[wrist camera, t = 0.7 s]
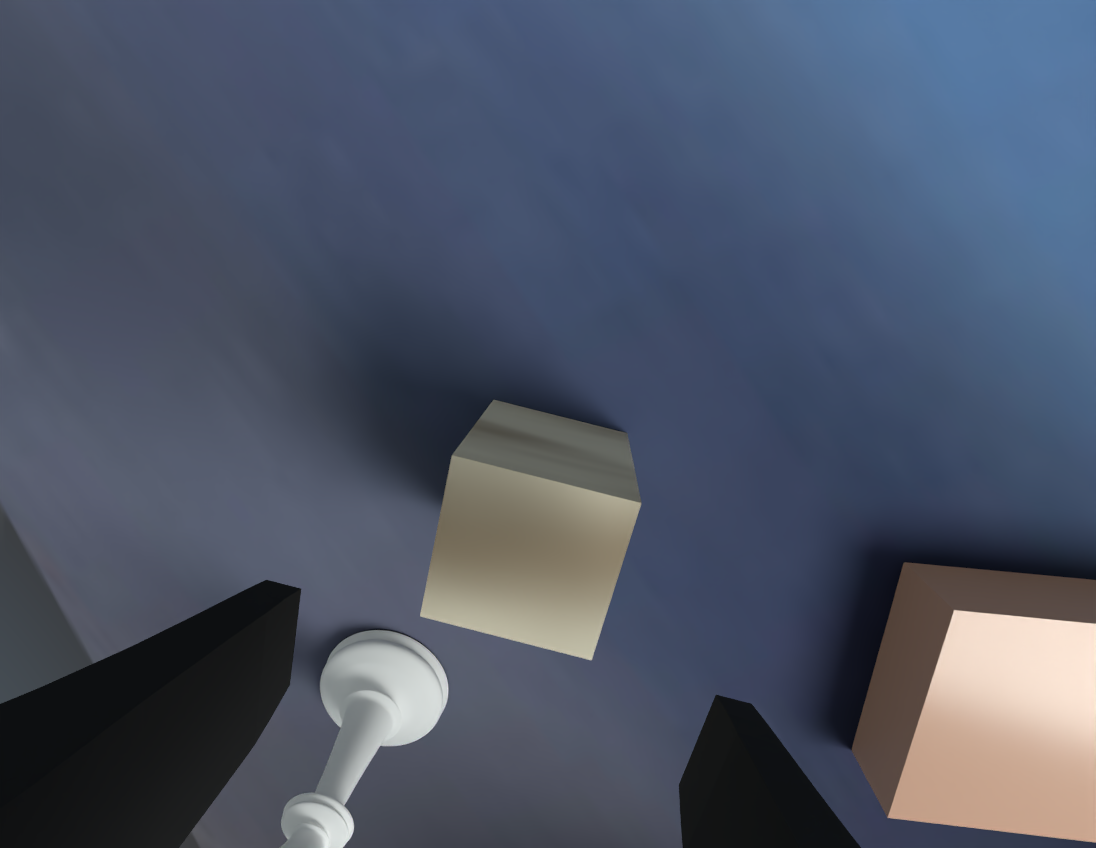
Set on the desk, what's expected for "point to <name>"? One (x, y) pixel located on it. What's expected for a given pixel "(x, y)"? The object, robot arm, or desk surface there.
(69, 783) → the robot arm
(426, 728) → the chess piece
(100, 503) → the desk surface
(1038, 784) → the block
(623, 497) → the metal block
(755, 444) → the desk surface
